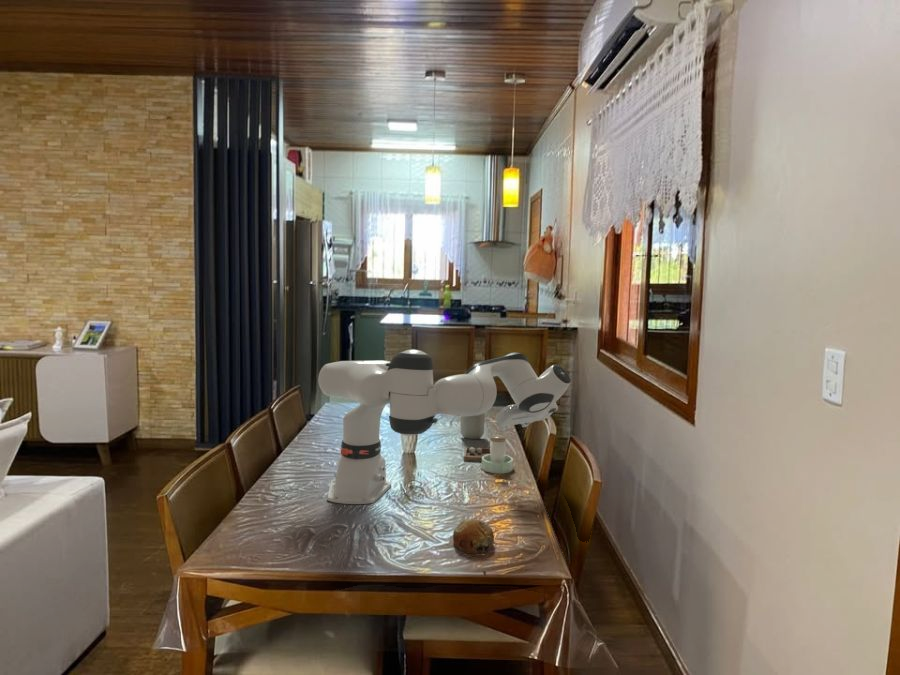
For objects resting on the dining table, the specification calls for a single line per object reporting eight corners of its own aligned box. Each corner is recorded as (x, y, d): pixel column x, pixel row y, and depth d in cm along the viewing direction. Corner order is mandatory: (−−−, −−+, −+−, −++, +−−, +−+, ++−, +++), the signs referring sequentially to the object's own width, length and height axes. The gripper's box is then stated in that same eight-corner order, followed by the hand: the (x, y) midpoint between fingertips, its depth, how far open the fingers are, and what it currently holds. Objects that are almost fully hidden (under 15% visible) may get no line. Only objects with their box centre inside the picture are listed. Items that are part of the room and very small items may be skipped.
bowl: (512, 476, 200) (513, 464, 199) (481, 475, 201) (481, 462, 200) (512, 466, 210) (512, 454, 210) (481, 465, 211) (482, 453, 210)
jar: (504, 471, 202) (505, 439, 201) (488, 470, 203) (490, 438, 202) (504, 466, 208) (505, 435, 206) (489, 465, 208) (490, 434, 207)
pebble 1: (475, 455, 219) (475, 448, 219) (468, 454, 219) (468, 448, 219) (475, 453, 221) (475, 446, 221) (468, 452, 221) (469, 446, 221)
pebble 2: (482, 454, 219) (482, 448, 219) (476, 454, 220) (476, 448, 219) (482, 452, 222) (482, 447, 221) (476, 452, 222) (476, 446, 222)
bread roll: (491, 553, 154) (491, 519, 157) (496, 553, 144) (496, 518, 147) (452, 552, 154) (452, 519, 156) (454, 553, 144) (454, 517, 146)
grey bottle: (483, 435, 248) (485, 367, 245) (484, 443, 238) (486, 372, 234) (459, 435, 248) (461, 367, 245) (459, 442, 238) (461, 371, 235)
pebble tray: (492, 465, 211) (492, 458, 211) (463, 463, 212) (464, 456, 212) (492, 455, 222) (493, 448, 222) (465, 454, 223) (465, 447, 223)
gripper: (513, 415, 182) (491, 439, 190) (562, 408, 193) (539, 431, 202) (504, 398, 185) (483, 422, 194) (552, 391, 197) (530, 415, 206)
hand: (512, 427), depth 198 cm, fingers open, 8 cm apart
